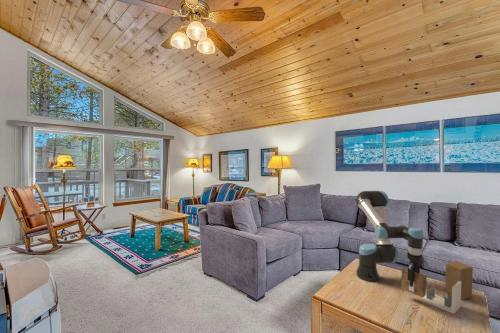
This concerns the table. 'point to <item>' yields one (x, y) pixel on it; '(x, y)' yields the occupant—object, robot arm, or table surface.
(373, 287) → the table surface
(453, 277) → the wooden block
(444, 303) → the l-bracket with handles
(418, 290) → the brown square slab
